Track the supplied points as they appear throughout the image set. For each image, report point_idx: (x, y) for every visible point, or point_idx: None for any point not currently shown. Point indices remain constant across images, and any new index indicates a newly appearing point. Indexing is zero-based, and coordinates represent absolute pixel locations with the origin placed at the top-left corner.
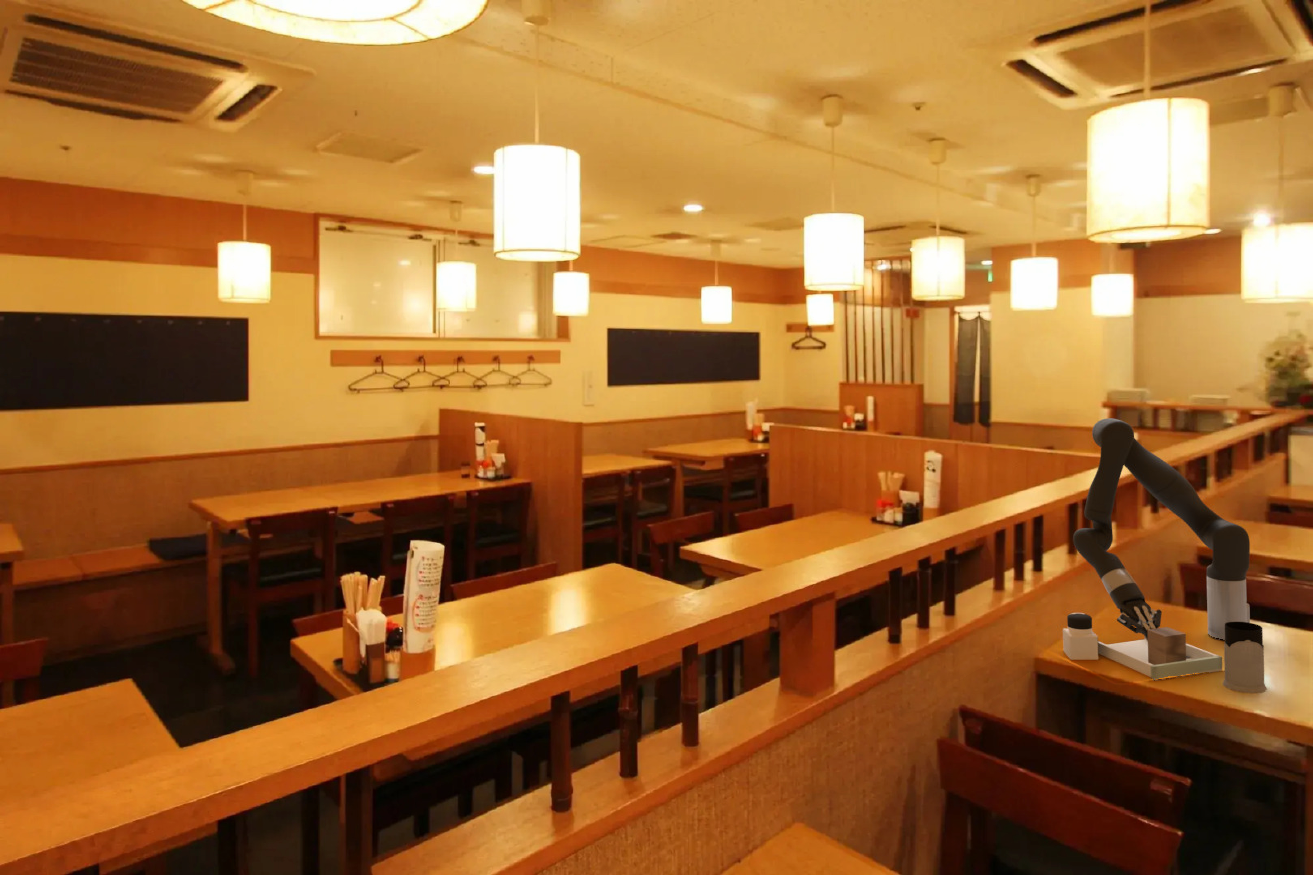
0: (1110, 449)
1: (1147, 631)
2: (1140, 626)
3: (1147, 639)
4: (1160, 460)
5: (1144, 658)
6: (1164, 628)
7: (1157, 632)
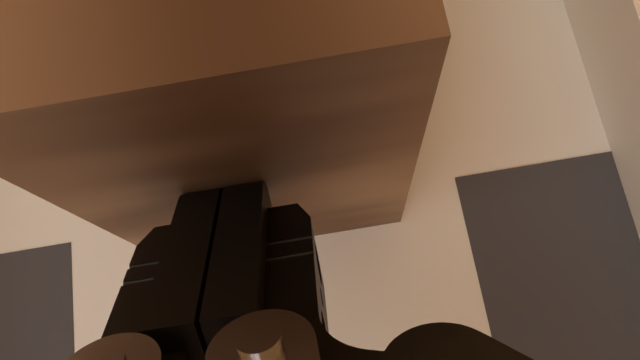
0: None
1: (442, 61)
2: (452, 356)
3: (325, 311)
4: None
5: None
6: (36, 51)
7: None
